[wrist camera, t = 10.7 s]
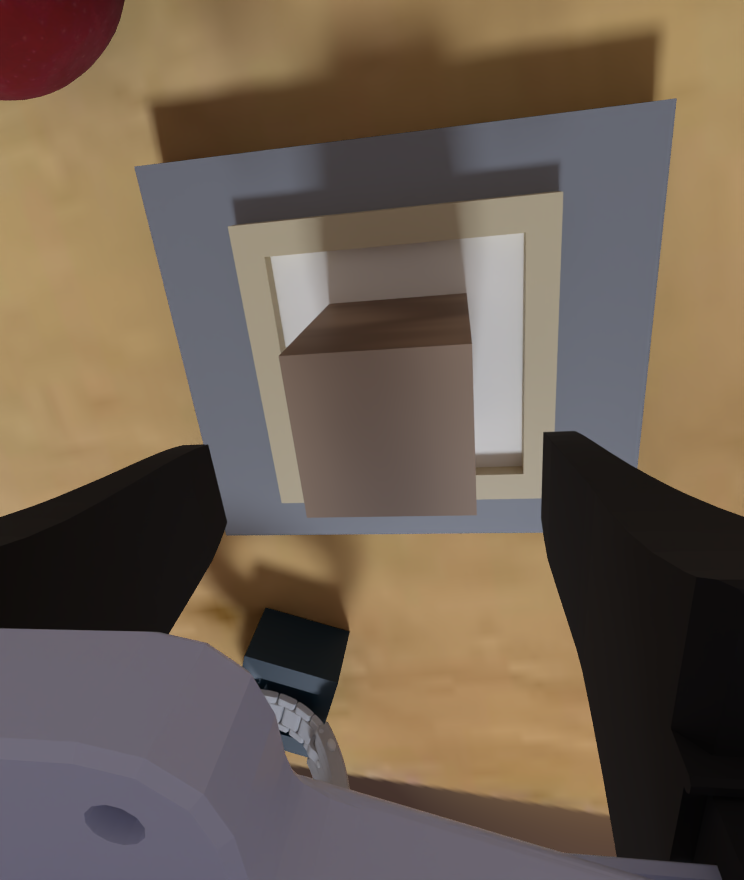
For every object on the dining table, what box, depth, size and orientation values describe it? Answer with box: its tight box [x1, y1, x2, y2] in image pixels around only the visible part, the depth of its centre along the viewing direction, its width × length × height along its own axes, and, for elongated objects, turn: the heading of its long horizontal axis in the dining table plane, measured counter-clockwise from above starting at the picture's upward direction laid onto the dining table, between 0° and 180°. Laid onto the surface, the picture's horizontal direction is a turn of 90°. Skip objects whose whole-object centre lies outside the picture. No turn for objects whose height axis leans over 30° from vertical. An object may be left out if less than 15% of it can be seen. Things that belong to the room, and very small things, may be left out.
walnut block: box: [279, 293, 477, 518], centre depth 16 cm, size 4×4×6 cm
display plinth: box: [135, 99, 676, 535], centre depth 20 cm, size 16×14×3 cm
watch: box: [242, 608, 350, 789], centre depth 24 cm, size 6×8×11 cm
